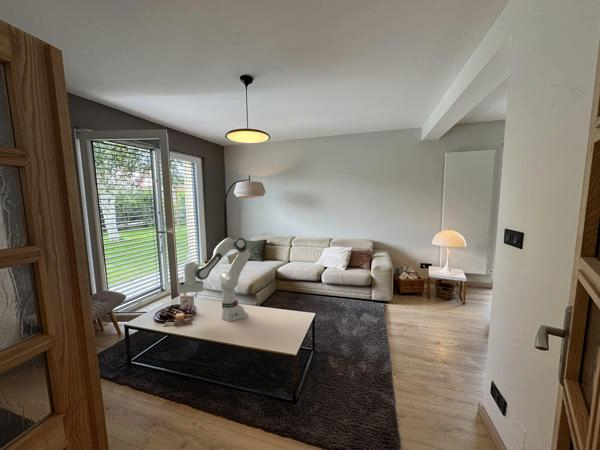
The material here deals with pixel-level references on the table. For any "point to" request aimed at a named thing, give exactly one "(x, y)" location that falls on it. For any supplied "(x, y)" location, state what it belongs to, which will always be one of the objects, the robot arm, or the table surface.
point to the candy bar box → (187, 302)
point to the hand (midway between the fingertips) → (191, 297)
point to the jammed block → (179, 316)
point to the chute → (181, 321)
